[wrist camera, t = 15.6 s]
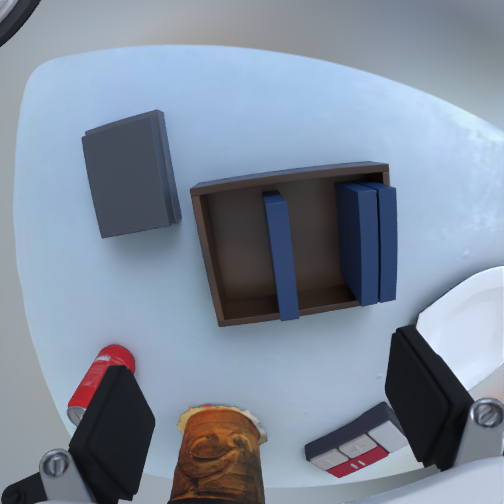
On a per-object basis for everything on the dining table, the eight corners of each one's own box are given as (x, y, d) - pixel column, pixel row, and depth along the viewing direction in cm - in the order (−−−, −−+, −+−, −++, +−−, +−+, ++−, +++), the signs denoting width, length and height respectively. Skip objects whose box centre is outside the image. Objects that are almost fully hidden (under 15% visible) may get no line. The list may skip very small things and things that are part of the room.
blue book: (261, 192, 29) (265, 204, 23) (278, 189, 29) (286, 201, 23) (274, 287, 32) (280, 321, 26) (289, 284, 32) (299, 318, 26)
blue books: (333, 182, 29) (357, 191, 22) (365, 178, 29) (396, 187, 22) (340, 276, 32) (361, 306, 26) (369, 271, 32) (395, 300, 25)
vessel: (260, 390, 38) (266, 527, 19) (278, 447, 42) (286, 554, 23) (160, 401, 39) (127, 521, 20) (193, 455, 43) (180, 554, 24)
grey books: (93, 132, 27) (74, 131, 24) (163, 111, 27) (151, 106, 23) (113, 230, 31) (97, 241, 27) (182, 218, 31) (172, 228, 27)
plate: (401, 413, 41) (405, 421, 39) (397, 298, 34) (403, 305, 32) (505, 358, 39) (510, 364, 37) (520, 243, 32) (528, 247, 30)
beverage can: (134, 344, 36) (100, 411, 24) (140, 374, 37) (113, 441, 26) (98, 339, 35) (58, 400, 24) (106, 369, 37) (73, 430, 26)
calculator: (305, 463, 39) (392, 421, 35) (303, 442, 43) (384, 400, 39) (338, 481, 42) (413, 444, 38) (335, 463, 46) (407, 426, 42)
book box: (198, 183, 30) (189, 188, 25) (370, 161, 29) (388, 163, 25) (222, 305, 34) (218, 327, 29) (375, 281, 33) (390, 299, 29)
